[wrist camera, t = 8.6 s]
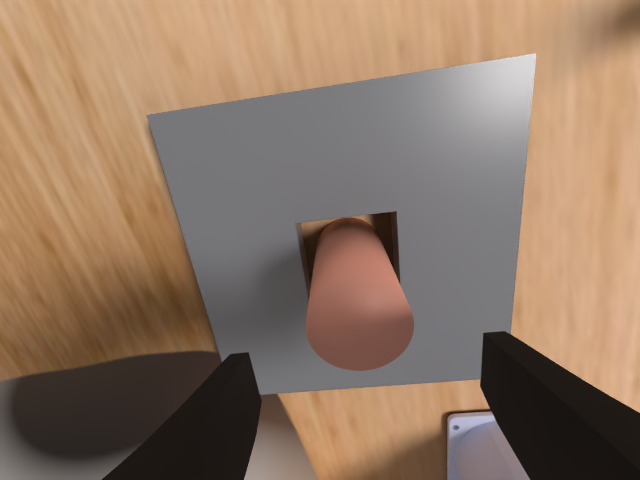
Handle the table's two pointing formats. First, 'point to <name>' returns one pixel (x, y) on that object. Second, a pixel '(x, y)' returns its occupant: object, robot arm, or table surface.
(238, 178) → the socket plate
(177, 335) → the table surface
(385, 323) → the peg
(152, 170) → the table surface
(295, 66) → the table surface
